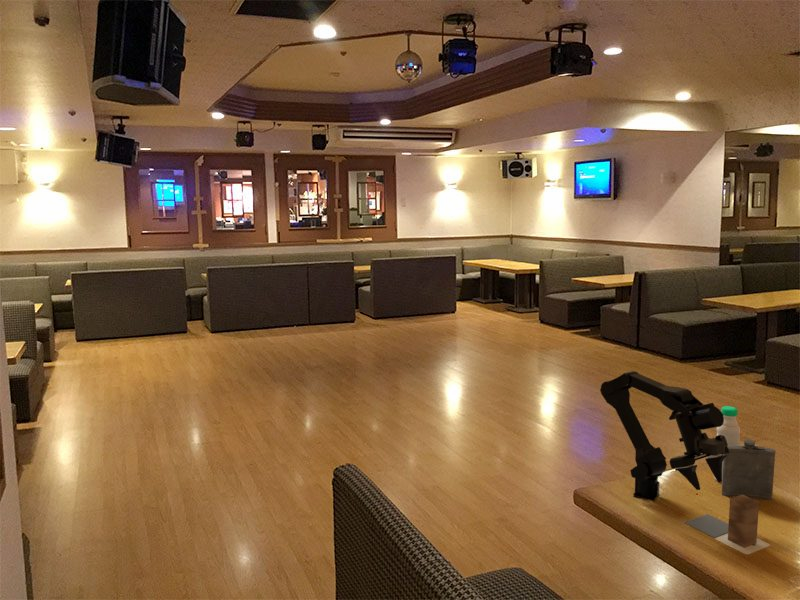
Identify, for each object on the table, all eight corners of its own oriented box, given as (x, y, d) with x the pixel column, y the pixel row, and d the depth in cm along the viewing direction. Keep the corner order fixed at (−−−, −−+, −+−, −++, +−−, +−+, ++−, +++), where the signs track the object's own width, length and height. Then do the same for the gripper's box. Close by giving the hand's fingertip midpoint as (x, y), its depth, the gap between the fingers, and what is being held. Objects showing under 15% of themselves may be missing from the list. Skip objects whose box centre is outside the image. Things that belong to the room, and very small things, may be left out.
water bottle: (740, 479, 220) (744, 407, 216) (733, 486, 215) (737, 412, 211) (717, 474, 225) (721, 403, 221) (710, 480, 220) (714, 408, 216)
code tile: (713, 539, 183) (713, 537, 183) (737, 530, 188) (737, 528, 187) (746, 556, 174) (746, 554, 174) (771, 546, 179) (771, 544, 179)
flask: (720, 491, 212) (723, 437, 209) (769, 495, 208) (773, 440, 206) (722, 496, 209) (725, 441, 206) (773, 500, 205) (777, 444, 202)
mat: (683, 524, 192) (683, 522, 192) (707, 515, 196) (707, 513, 196) (714, 539, 183) (714, 537, 183) (738, 530, 187) (738, 528, 187)
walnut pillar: (727, 539, 182) (730, 498, 180) (739, 535, 184) (742, 494, 182) (744, 547, 177) (746, 505, 176) (756, 543, 180) (759, 501, 178)
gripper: (690, 434, 182) (710, 492, 179) (734, 421, 191) (754, 475, 187) (660, 440, 192) (678, 494, 188) (704, 427, 201) (722, 479, 197)
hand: (709, 485), depth 190 cm, fingers open, 9 cm apart
